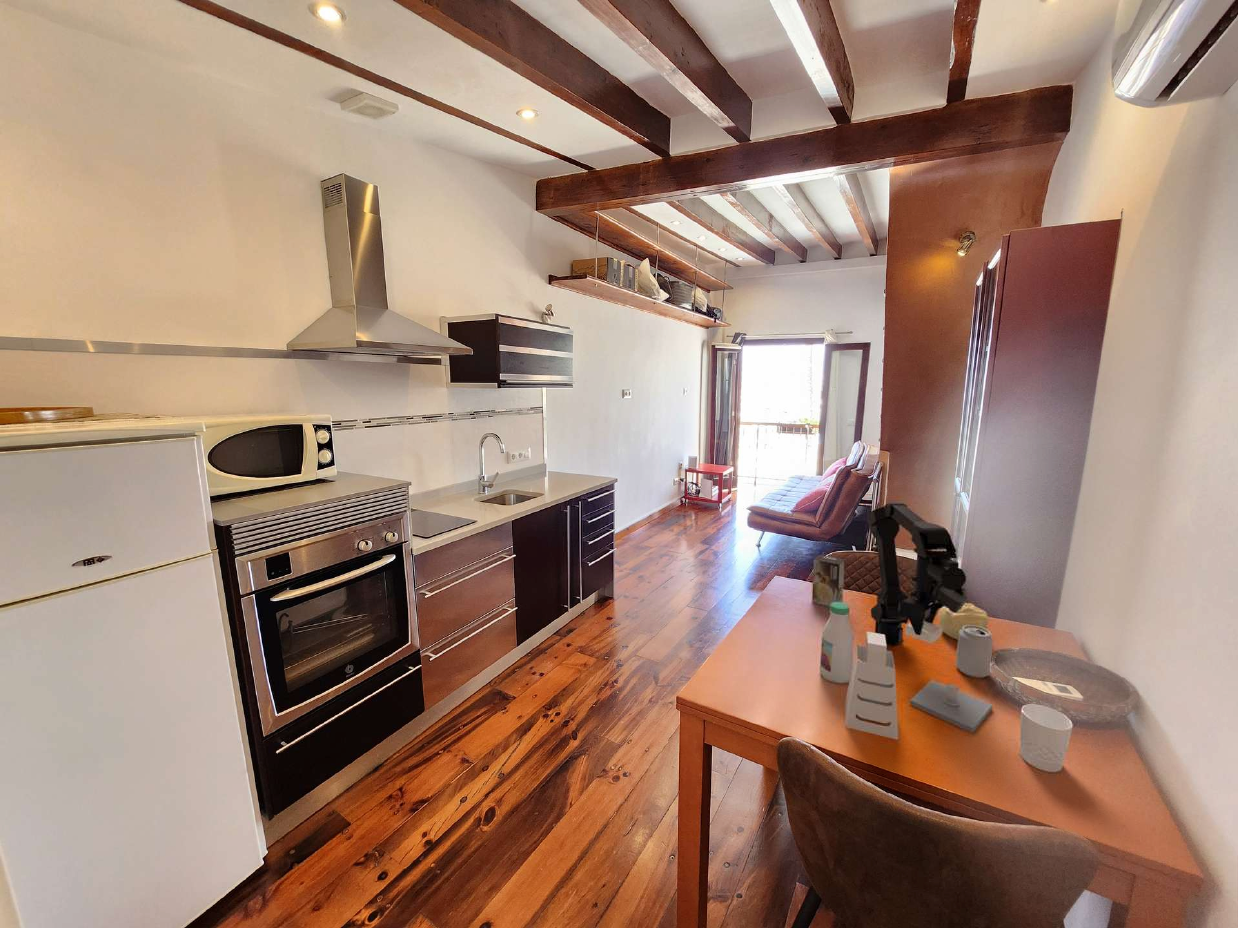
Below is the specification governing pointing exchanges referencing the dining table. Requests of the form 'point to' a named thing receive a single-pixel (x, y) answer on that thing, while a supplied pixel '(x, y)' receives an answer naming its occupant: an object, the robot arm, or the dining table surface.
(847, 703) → the grater
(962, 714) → the post stand
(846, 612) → the milk bottle
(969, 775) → the dining table surface
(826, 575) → the coffee box
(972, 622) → the sculpture
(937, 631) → the white square frame
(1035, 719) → the white cup
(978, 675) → the can
